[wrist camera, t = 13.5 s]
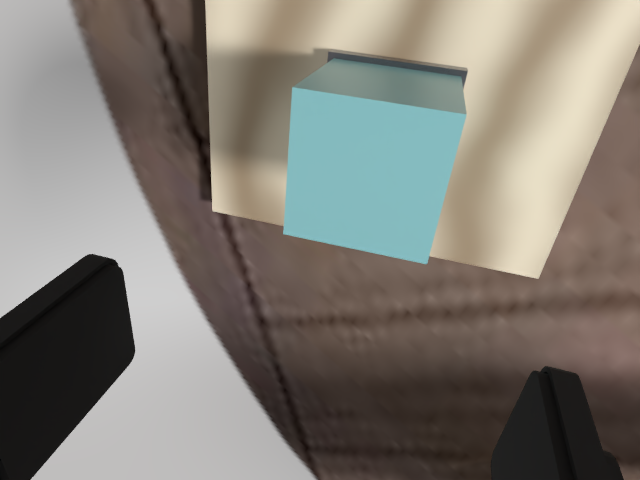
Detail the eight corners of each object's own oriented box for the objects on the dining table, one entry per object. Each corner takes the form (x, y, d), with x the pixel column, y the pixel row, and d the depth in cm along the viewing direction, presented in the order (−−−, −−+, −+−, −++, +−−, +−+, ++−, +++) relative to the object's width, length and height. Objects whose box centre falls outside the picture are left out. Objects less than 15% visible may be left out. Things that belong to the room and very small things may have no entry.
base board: (650, -13, 21) (663, -13, 20) (534, 265, 29) (538, 278, 28) (215, -60, 25) (203, -62, 23) (221, 202, 33) (212, 211, 32)
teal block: (461, 76, 23) (466, 114, 16) (431, 194, 26) (426, 264, 20) (334, 58, 24) (292, 87, 17) (321, 174, 27) (283, 233, 21)
